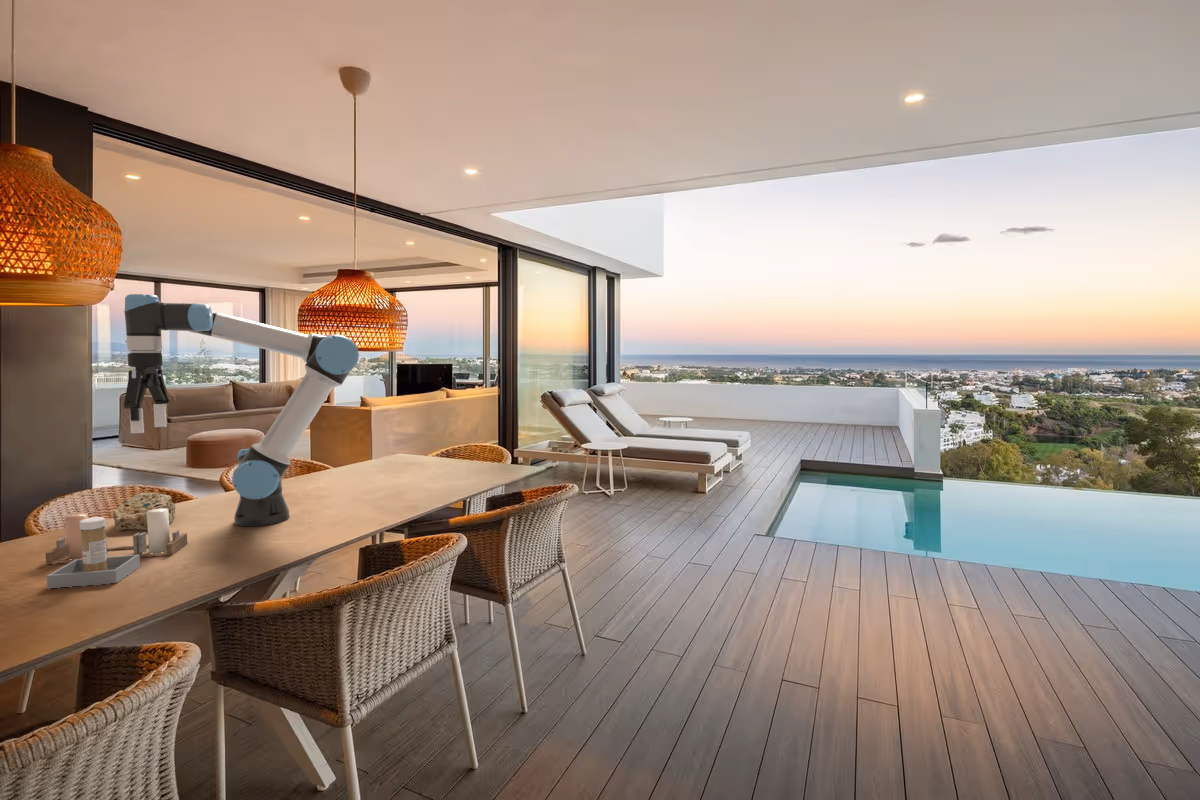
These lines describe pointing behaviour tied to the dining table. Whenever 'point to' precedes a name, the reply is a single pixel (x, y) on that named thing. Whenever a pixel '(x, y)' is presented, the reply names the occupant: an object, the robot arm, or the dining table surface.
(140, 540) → the rack
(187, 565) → the dining table surface
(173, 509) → the rock
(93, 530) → the sprinkles bottle
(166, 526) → the cream jar
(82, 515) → the pink cylinder
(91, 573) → the tray
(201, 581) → the dining table surface
